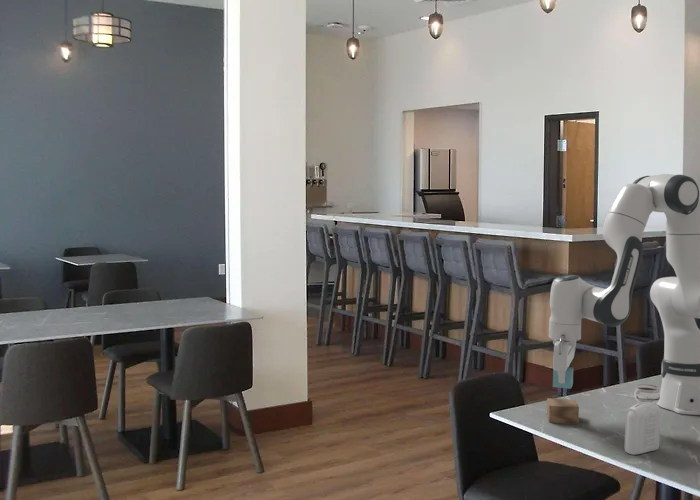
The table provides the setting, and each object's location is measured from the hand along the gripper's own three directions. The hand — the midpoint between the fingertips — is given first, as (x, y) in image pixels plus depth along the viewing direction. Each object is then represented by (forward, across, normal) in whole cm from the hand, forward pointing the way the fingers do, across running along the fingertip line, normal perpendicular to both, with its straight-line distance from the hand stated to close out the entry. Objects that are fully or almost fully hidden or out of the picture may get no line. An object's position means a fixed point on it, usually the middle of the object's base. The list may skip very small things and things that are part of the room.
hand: (563, 380), depth 226 cm
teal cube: (+2, 0, 0) cm, 2 cm away
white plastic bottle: (+12, -20, -22) cm, 32 cm away
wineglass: (+12, -2, -22) cm, 25 cm away
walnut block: (+12, 0, 0) cm, 12 cm away
